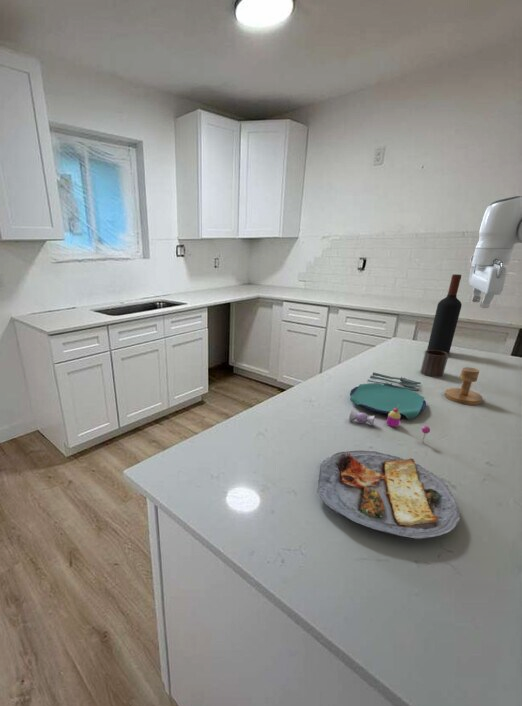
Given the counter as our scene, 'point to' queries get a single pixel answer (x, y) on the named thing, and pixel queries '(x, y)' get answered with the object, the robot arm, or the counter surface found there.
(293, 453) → the counter surface
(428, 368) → the walnut ring
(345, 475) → the food plate
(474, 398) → the wooden stand
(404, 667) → the counter surface
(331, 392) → the counter surface
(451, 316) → the wine bottle
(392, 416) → the candy
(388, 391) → the cutlery set
